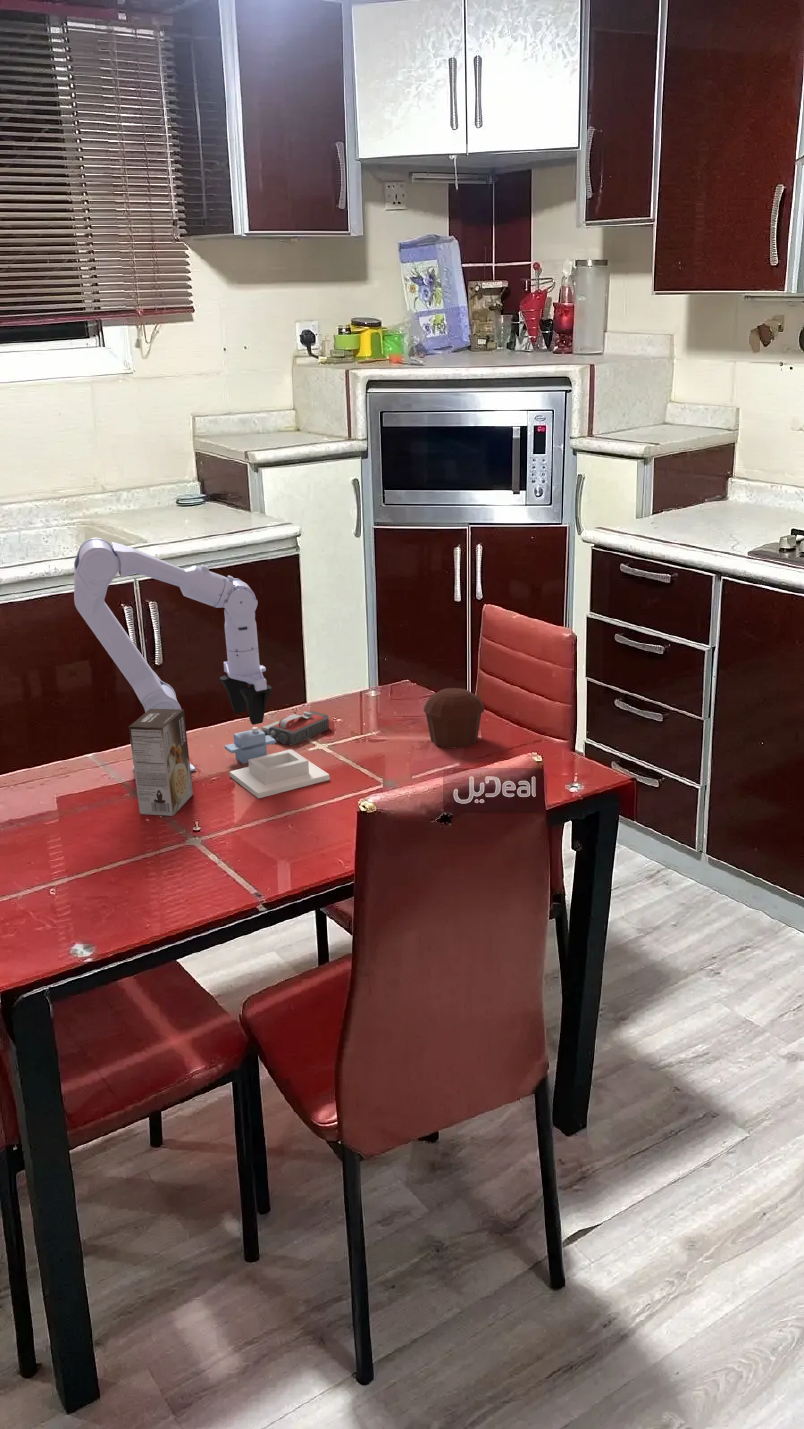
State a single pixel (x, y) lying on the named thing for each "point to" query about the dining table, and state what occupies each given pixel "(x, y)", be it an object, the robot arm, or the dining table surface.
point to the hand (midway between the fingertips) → (248, 717)
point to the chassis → (278, 773)
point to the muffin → (453, 717)
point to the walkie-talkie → (297, 727)
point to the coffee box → (161, 761)
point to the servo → (249, 744)
